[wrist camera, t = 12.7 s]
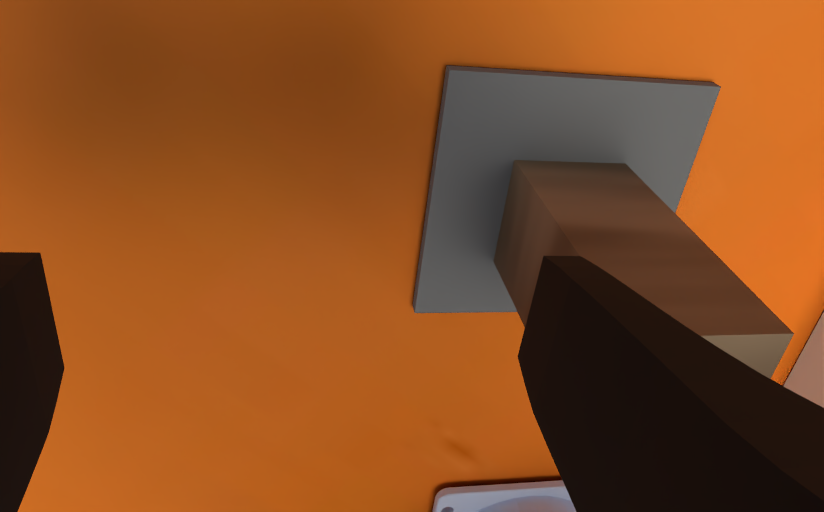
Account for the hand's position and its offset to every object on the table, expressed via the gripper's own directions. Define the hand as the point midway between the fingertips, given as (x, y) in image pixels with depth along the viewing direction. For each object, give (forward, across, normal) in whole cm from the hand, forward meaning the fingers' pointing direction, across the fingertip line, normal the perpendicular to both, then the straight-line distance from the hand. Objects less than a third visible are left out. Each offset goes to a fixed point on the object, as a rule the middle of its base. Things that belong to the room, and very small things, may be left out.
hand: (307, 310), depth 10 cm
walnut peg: (+9, -8, +3) cm, 12 cm away
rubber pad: (+9, -8, +3) cm, 13 cm away
